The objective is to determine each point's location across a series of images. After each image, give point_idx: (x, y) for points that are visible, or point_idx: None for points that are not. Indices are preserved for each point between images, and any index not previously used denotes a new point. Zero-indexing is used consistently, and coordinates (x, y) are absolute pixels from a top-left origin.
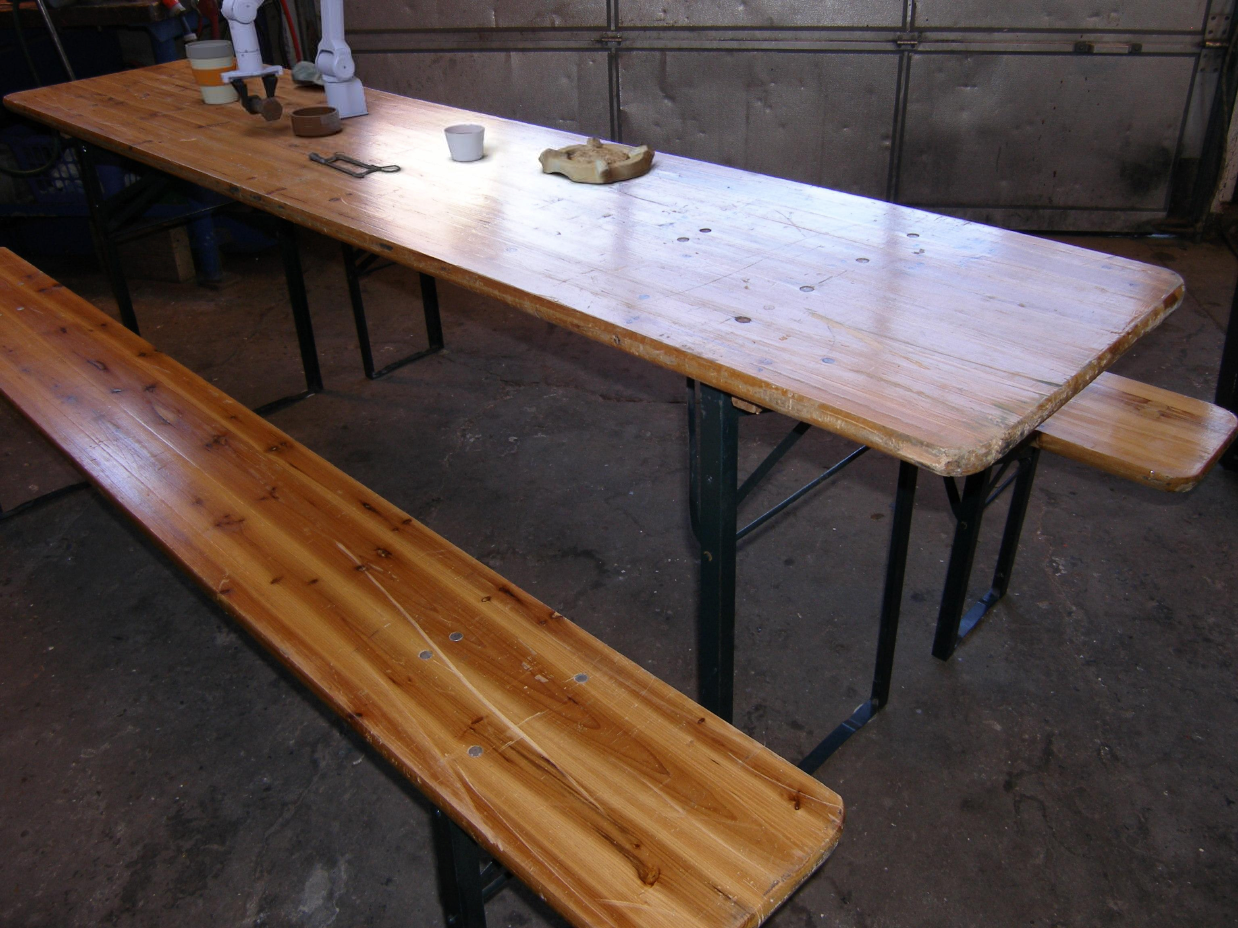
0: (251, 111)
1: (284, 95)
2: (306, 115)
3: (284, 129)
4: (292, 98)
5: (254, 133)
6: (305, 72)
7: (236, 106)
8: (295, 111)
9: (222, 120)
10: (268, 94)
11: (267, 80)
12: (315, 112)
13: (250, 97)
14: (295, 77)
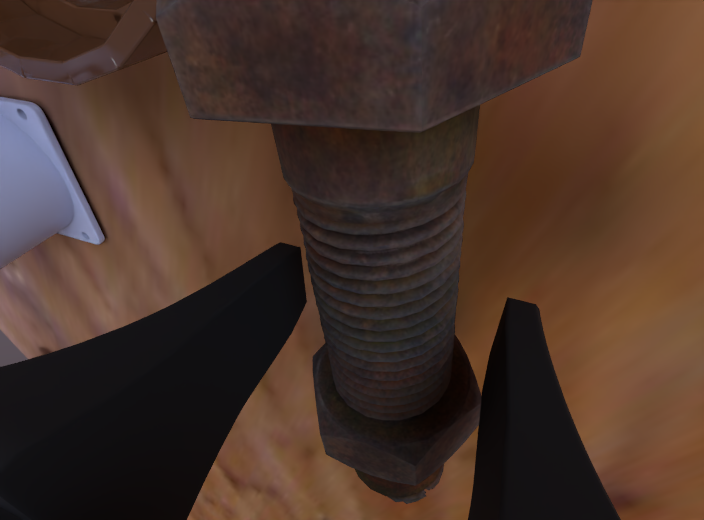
0: (453, 348)
1: (213, 472)
2: (100, 44)
3: None
4: None
5: (521, 209)
6: None
7: (347, 514)
8: (125, 18)
9: (470, 483)
10: (231, 359)
11: (70, 489)
12: (20, 24)
13: (400, 449)
14: None
